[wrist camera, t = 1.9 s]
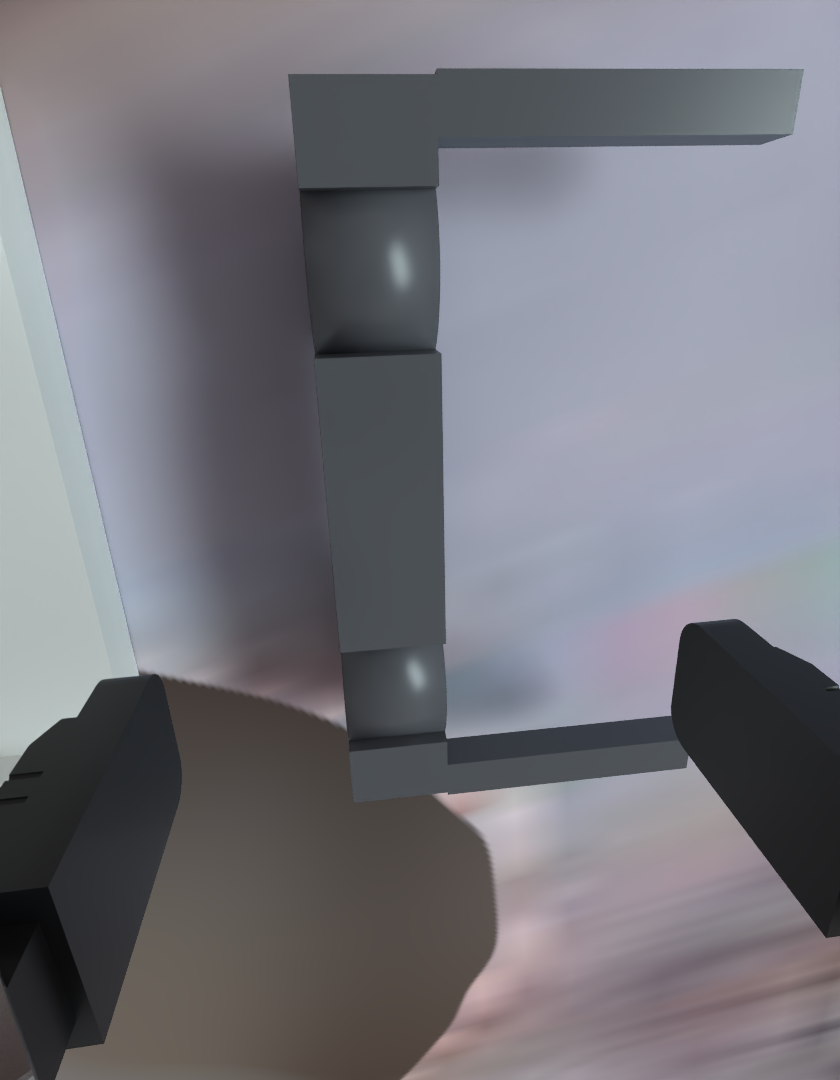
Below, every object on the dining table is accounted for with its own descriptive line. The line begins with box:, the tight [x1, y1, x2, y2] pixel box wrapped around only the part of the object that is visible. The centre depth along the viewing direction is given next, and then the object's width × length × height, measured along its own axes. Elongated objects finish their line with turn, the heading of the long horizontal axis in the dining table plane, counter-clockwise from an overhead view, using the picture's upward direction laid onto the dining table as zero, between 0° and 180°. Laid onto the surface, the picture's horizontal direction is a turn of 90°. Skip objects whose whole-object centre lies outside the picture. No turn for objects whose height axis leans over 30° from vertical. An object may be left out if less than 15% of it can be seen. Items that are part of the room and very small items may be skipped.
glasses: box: [288, 69, 804, 803], centre depth 19 cm, size 19×11×5 cm, turn 2°
